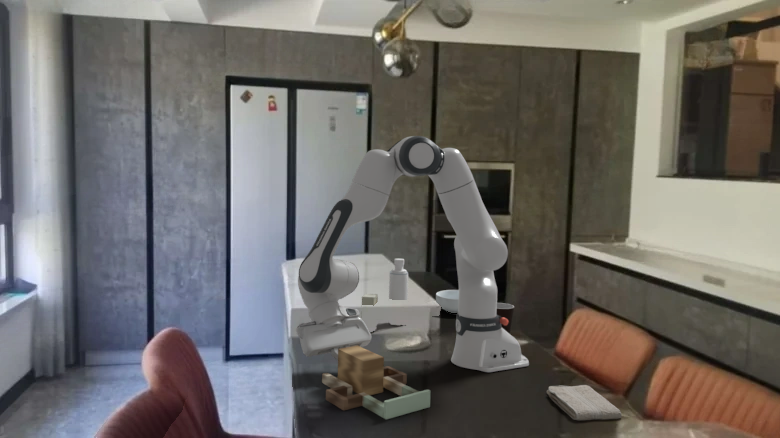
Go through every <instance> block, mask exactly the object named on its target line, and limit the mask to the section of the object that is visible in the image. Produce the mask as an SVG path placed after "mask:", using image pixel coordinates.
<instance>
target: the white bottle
mask: <svg viewBox="0 0 780 438" xmlns="http://www.w3.org/2000/svg"><path fill="white" fill-rule="evenodd" d="M393 265H394V268H393V269H391V271H389V282H388V283H389V286H388V289H389V290H388V291H389V292H388V300H389V299H392V300H407V299H408V300H409V271H407V269H405V268H404V265H405V259H404V258H398V257H397V258H394V260H393Z"/></svg>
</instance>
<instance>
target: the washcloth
mask: <svg viewBox="0 0 780 438" xmlns="http://www.w3.org/2000/svg"><path fill="white" fill-rule="evenodd" d="M546 394H547V395H548V397H549V398H550V399H551V401H552V402H554V404H556V405H557V406H558V407H559V408H560V409H561V410H562V411H564V413H566V414H567V415H568V416H569V417H570V418H571V419H572V420H574V421H591V420H617V419H618V420H619V419H621V418H622V417H623V416H622V412H621V410H620V409H619V408H617V407H616V406H615V405H614V404H612V403H611V402H610V401H609V400H608V399H607V398H605V397H603V395H601V393H598V392H597V391H596V390H594V388H592V387H591V386H590V385H587V384H579V385H573V386H569V385H560V384H559V385H550V386H548V389H547V390H546Z"/></svg>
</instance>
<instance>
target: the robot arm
mask: <svg viewBox="0 0 780 438" xmlns="http://www.w3.org/2000/svg"><path fill="white" fill-rule="evenodd" d="M401 176H406V177H414V178H415V177H423V176H428V177H429V178H430V180H431V181H432V183H433V185H434V187H435V188H434V189H435V191H436V193H437V195H438V198H439V201H440V204H441V205H442V208H443V211H444V214H445V216H446V219H447V220H448V222H449V223H450V225H451V227H452V228H453V230H454V232H455V234H456V235H455V238H454V242H453V246H454V247H453V249H454V251H455V261H456V262H455V263H456V271H457V281H458V282H457V283H458V290H459V303H458V313H457V314H456V320H455V331H456V332H455V333H456V338H455V342H454V343H455V344H454V347H453V352H452V355H451V358H450V361H451V363H452V364H454V365H456V366H457V367H460V368H463V369H464V368H465V369H470V370H477V371H481V372H484V373H493V372H498V371H499V372H500V371H505V370H506V371H507V370H513V369H517V368H525V367H529V365H530V362H529V359H528V358H527V357H526V356H525V355H523V354H522V349H521V345H520V343H519V341H518V340H517V339H516V338H515V336H513V335H511V333H510V334H509V333H508V332H507V331H506V330H504V329H503V328H502V326H501V324H503V325H508V322H509V320H508V319H506V318H504V317H500V316H498V315H497V303H498V286H497V282H496V279H495V273H494V271H497V270H499V269H501V268H502V267H503V266H504V265H505V264H506V262H507V260H508V255H509V250H508V246H507V244H506V242H505V241H504V240H503V238H502V237H501V234H500V232H499V231H498V228H497V226H496V225H495V223H494V221H493V219H492V217H491V215H490V213H489V212H488V210H487V208H486V206H485V204H484V202H483V200H482V196H481V194H480V192H479V189H478V188H479V187H478V186H477V183H476V181H475V178H474V175H473V173H472V171H471V168H470V167H469V165H468V163H467V161H466V159H465V158H464V156H463V154H462V153H461V152H460V150H459V149H457V148H454V147H444V148H441V147H440V146H438V145H437V144H436V143H435V142H434V141H433V140H431V139H430V138H428V137H426V136H422V135H412V136H407V137H404V138H402V139H401V140H399V141H397V142H396V143H395V144H393V145H392V146H391V147H389V149H388V150H387V151H386V150H384V149H377V148H376V149H371V150H370V149H369V150H368V151H367V152H366V153H365V154H364V156H363V158H362V159H361V161H360V163H359V164H358V167H357V169H356V170H355V173H354V176H353V178H352V181H351V183H350V186H349V188H348V190H347V191H346V193H345V195H343V197H342V199H340V200H339V201H337V202H336V203H335V204H334V206H332V208H331V210H330V212H329V214H328V216H327V218H326V220H325V221H324V224H323V225H322V227H321V230H320V231H319V233H318V236H317V237H316V239H315V242H314V243H313V245H312V248H311V249H310V251H309V252H308V254H307V255H306V256H305V258H303V260H302V262H301V264H300V266H299V269H298V276H297V284H298V290H299V294H300V296H301V299H302V302H303V305H305V307H306V308H307V310H308V317H309V319H310V322H309V321H308V322H301V323H299V325H297V326H296V329H295V331H296V334H297V336H298V338H299V341H300V345H301V349H302V350H301V351H302V353H303V355H304V356H306V357H307V358H310V357H315V356H320V355H325V354H331V357H333V358H334V359H335V360H336V361H338V349H341V348H346V347H352V346H357V345H358V346H360V347H362V348H364V347H366V346H368V345H369V344H370V342H371V341H372V334H371V333H372V332H370V331H369V329H368V327H367V325H366V323H365V322H364V320H363V319H362V317H360V315H361V313H360V311H359V309H357V308H352V307H346V306H343V305H340V303H339V300H342V299H344V298H346V297H347V296H349V295H350V294H351V293H353V292H355V291H356V289H357V287H358V286H359V281H360V273H359V270H358V267H357V266H356V265H355V263H353V262H351V261H350V262H349V261H347V260H343V259H338V258H333V256H334V255H335V252H336V251H337V249H338V247H339V244H340V243H341V240H342V238H343V237H344V235H345V233H346V232H347V231H348V229H350V228H351V227H353V226H354V225H357V224H360V223H365V222H369V221H372V220H374V219H376V218H378V217H380V216H381V214H382V213H383V211H384V210H385V208H386V206H387V204H388V201H389V199H390V198H389V197H390V195H391V192H392V190H393V186H394V184H395V182H396V181H397V180H398V178H399V177H401Z"/></svg>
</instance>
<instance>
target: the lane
mask: <svg viewBox="0 0 780 438" xmlns="http://www.w3.org/2000/svg"><path fill="white" fill-rule="evenodd" d="M321 375H322V376H321V378H322V379H321V383H322V384H323V385H325V386H327V387H328V389H326V390H325V401H327V402H329V403H330V404H332V405H334V406H336V407H337V408H338V409H340V410H341V411H348V410H352V409H355V408H359V407H363V408H364V409H366V410H369V411H370V412H372V413H374V414H376V415H377V416H379V417H381V418H383V415H384V401H381V400H378V399H377V398H375V397H373V395H368V394H366V393H359V394H357V393H355V394H353V391H352V386H351V385H349V384H348V383H346V382H344V381H342V380H340V379H338V377H337V376H334V375H332V374H331V373H329V372H323V373H322V374H321ZM407 378H408V374H407V373H406V372H403V371H401V370H398V369H396V368H394V367H392V366H390V365H386V366H384V378H383V389H386V390H388V391H390V392H391V393H393V394H396V395H398V396H399V397H401V396H405V395H408V394H412V393H416V392H420V391H419V390H417V389H415V388H413V387H411V386H408V385H406V384H408V383H407V380H408V379H407ZM383 419H384V418H383Z"/></svg>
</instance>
